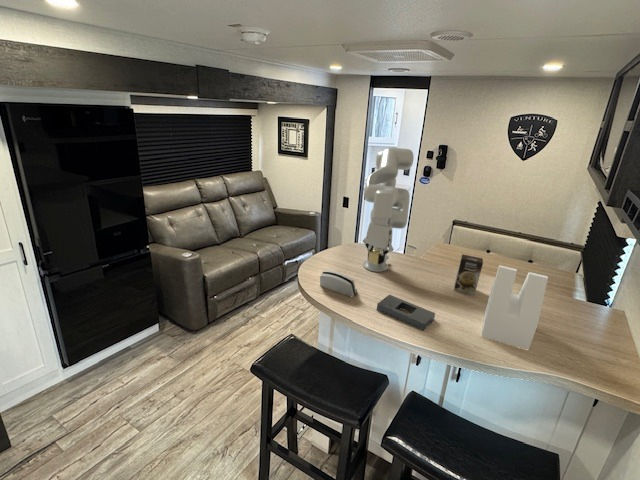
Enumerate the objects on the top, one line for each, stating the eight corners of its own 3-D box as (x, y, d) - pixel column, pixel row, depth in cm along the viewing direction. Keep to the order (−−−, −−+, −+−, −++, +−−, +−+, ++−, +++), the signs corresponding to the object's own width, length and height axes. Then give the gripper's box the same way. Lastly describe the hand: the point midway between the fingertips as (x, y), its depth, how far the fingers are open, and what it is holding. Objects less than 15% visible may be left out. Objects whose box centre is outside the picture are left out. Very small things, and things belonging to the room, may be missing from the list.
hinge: (358, 292, 153) (357, 276, 147) (353, 299, 150) (351, 283, 144) (325, 281, 161) (322, 265, 155) (319, 288, 158) (317, 272, 152)
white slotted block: (485, 312, 145) (500, 257, 136) (526, 324, 139) (545, 267, 130) (481, 336, 129) (498, 276, 120) (528, 351, 123) (550, 288, 114)
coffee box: (453, 290, 161) (461, 258, 155) (454, 284, 166) (461, 253, 160) (474, 295, 158) (483, 263, 152) (474, 289, 163) (482, 257, 157)
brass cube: (373, 258, 152) (374, 248, 150) (382, 261, 149) (384, 251, 148) (368, 261, 149) (369, 251, 147) (377, 264, 146) (378, 255, 144)
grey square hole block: (388, 300, 149) (389, 294, 147) (433, 319, 137) (435, 313, 136) (376, 310, 141) (377, 303, 140) (423, 330, 130) (424, 324, 129)
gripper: (404, 223, 140) (397, 264, 147) (368, 213, 150) (363, 252, 157) (395, 227, 135) (389, 270, 141) (358, 217, 144) (354, 257, 151)
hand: (375, 260), depth 149 cm, fingers closed on brass cube, 4 cm apart
